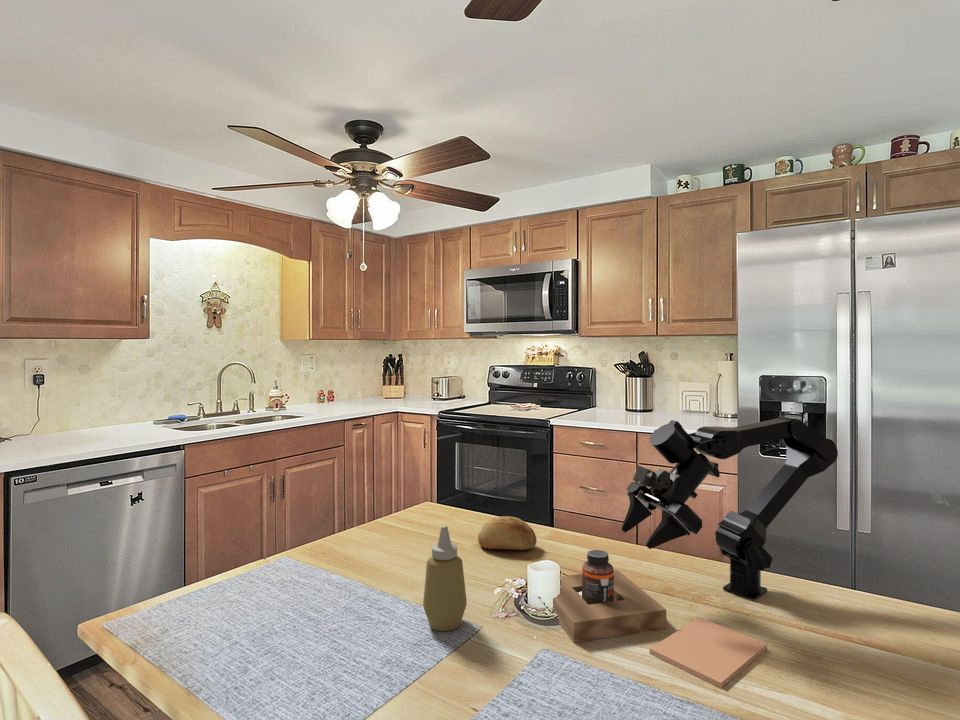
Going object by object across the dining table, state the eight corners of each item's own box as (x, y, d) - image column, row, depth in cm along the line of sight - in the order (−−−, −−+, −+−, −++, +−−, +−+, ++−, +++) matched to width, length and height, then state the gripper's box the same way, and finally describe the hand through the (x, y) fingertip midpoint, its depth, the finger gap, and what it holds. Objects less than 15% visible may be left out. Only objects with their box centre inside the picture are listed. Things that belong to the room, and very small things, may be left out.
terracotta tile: (698, 621, 100) (698, 617, 100) (766, 648, 91) (766, 644, 91) (649, 653, 89) (649, 648, 89) (721, 688, 80) (721, 682, 80)
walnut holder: (617, 585, 115) (617, 569, 115) (666, 628, 97) (666, 609, 97) (537, 596, 110) (537, 579, 110) (573, 642, 93) (573, 622, 93)
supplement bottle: (614, 620, 100) (614, 560, 100) (581, 617, 101) (581, 558, 101) (613, 605, 106) (613, 548, 106) (582, 602, 107) (582, 546, 107)
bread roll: (535, 557, 131) (535, 524, 131) (474, 554, 133) (474, 522, 133) (537, 543, 140) (537, 512, 140) (480, 540, 143) (480, 510, 142)
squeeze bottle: (423, 614, 103) (422, 520, 103) (465, 612, 104) (464, 519, 104) (422, 636, 95) (421, 535, 95) (468, 634, 96) (467, 533, 96)
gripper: (634, 443, 115) (586, 499, 113) (687, 461, 97) (633, 528, 95) (667, 477, 117) (621, 532, 115) (725, 501, 99) (672, 567, 97)
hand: (634, 538), depth 105 cm, fingers open, 9 cm apart
